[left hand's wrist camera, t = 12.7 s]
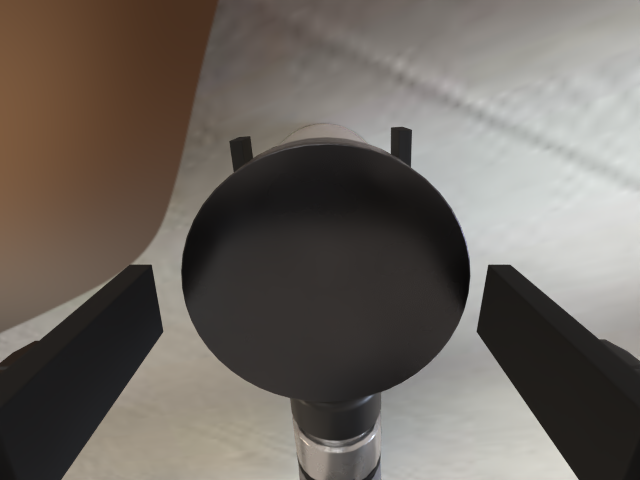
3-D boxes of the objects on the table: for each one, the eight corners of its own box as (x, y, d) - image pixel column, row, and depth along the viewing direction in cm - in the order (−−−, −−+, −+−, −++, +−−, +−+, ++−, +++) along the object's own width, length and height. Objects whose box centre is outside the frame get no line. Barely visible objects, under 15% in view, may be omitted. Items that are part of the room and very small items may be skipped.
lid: (185, 134, 13) (161, 140, 11) (469, 139, 13) (495, 145, 11) (211, 365, 17) (197, 400, 15) (434, 368, 17) (448, 404, 15)
